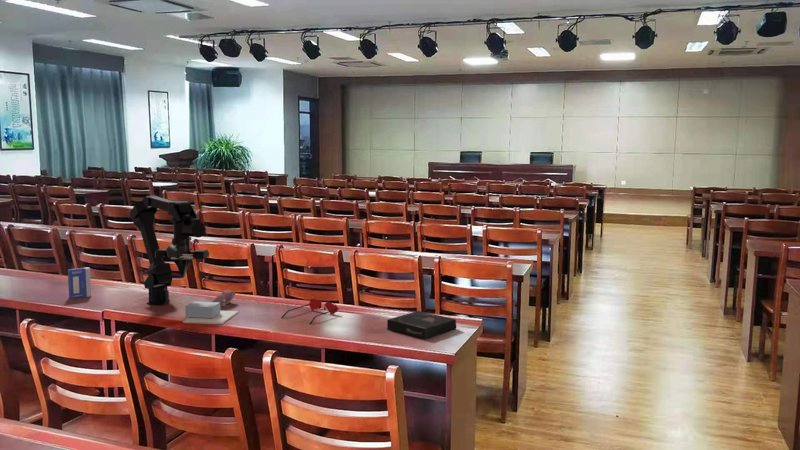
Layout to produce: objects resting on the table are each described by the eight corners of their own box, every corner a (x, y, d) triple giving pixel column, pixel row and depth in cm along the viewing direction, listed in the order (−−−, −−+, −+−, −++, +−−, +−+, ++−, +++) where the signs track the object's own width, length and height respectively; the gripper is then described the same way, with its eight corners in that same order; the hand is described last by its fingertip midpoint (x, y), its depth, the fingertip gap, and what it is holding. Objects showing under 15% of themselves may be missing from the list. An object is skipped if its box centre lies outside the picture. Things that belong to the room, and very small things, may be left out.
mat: (182, 322, 217) (182, 321, 217) (202, 311, 233) (201, 309, 233) (221, 324, 216) (221, 322, 216) (238, 312, 232) (238, 311, 232)
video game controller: (217, 312, 238) (224, 296, 236) (208, 305, 239) (215, 290, 237) (232, 306, 247) (239, 291, 246) (223, 300, 248) (229, 285, 247)
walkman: (71, 299, 249) (69, 269, 247) (69, 298, 251) (67, 268, 249) (92, 296, 254) (90, 267, 253) (89, 295, 256) (88, 266, 255)
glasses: (339, 315, 231) (339, 302, 230) (310, 325, 217) (310, 311, 217) (310, 310, 239) (310, 297, 238) (280, 319, 225) (280, 305, 224)
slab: (185, 306, 221) (212, 307, 220) (193, 301, 228) (220, 302, 227) (185, 317, 222) (212, 318, 221) (193, 312, 229) (220, 313, 228)
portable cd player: (456, 330, 214) (456, 319, 213) (424, 341, 201) (424, 329, 201) (419, 321, 225) (419, 310, 224) (387, 331, 212) (387, 319, 212)
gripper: (146, 237, 225) (148, 280, 227) (196, 238, 224) (197, 281, 225) (161, 233, 236) (162, 274, 238) (209, 234, 235) (210, 275, 236)
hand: (182, 276), depth 234 cm, fingers closed
